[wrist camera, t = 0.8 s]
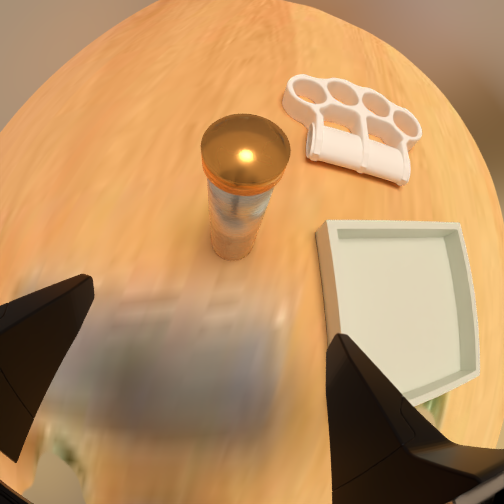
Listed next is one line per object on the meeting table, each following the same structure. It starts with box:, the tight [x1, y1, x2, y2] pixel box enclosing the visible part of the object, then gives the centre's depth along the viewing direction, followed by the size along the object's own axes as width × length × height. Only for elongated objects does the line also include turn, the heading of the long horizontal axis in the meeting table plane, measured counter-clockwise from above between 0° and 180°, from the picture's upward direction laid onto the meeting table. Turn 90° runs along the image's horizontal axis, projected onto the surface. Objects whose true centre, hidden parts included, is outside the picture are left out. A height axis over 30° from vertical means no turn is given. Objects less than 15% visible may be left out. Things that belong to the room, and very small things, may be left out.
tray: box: [315, 220, 480, 407], centre depth 23 cm, size 17×17×3 cm
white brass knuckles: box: [282, 74, 422, 186], centre depth 29 cm, size 3×18×15 cm
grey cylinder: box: [201, 114, 290, 261], centre depth 18 cm, size 4×4×13 cm
